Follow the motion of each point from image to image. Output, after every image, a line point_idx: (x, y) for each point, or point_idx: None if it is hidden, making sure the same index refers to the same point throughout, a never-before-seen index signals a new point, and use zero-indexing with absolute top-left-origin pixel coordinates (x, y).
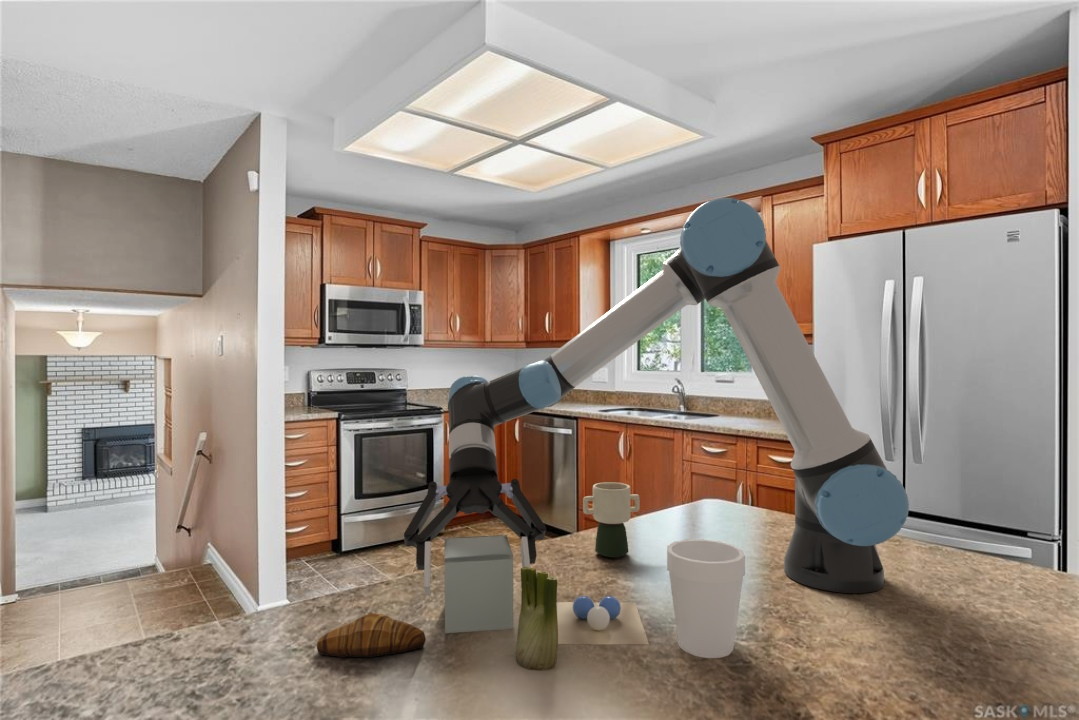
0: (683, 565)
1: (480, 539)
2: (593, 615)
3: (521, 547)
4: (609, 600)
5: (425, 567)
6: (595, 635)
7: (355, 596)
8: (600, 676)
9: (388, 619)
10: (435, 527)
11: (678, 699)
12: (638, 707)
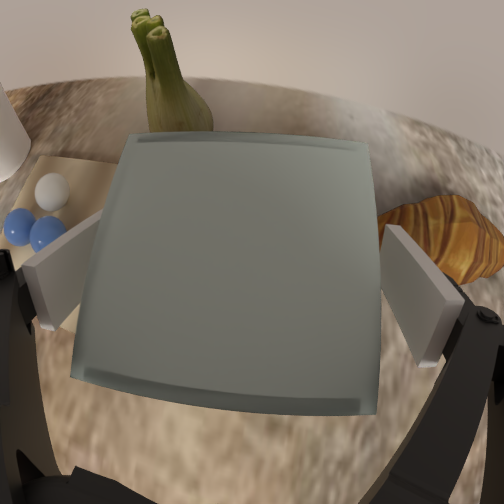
0: None
1: (195, 347)
2: (59, 176)
3: (58, 293)
4: (15, 211)
5: (418, 248)
6: (75, 184)
7: (473, 483)
8: (120, 122)
9: (439, 224)
10: (455, 355)
11: (85, 91)
12: (122, 80)
